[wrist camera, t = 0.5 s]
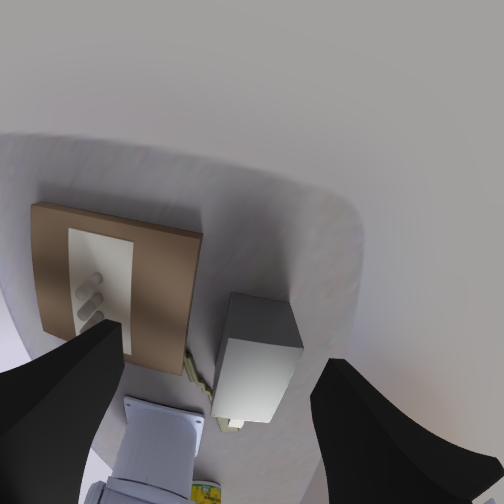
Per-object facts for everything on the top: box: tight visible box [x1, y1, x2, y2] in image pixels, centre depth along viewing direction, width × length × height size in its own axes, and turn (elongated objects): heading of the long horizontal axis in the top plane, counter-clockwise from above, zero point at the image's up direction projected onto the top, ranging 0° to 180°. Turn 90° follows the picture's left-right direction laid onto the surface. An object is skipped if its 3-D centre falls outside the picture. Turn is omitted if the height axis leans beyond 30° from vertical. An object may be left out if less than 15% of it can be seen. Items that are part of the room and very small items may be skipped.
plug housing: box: [210, 292, 304, 428], centre depth 17 cm, size 9×4×5 cm, turn 167°
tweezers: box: [184, 349, 239, 432], centre depth 21 cm, size 12×2×1 cm, turn 15°
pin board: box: [31, 202, 203, 376], centre depth 16 cm, size 11×13×4 cm
